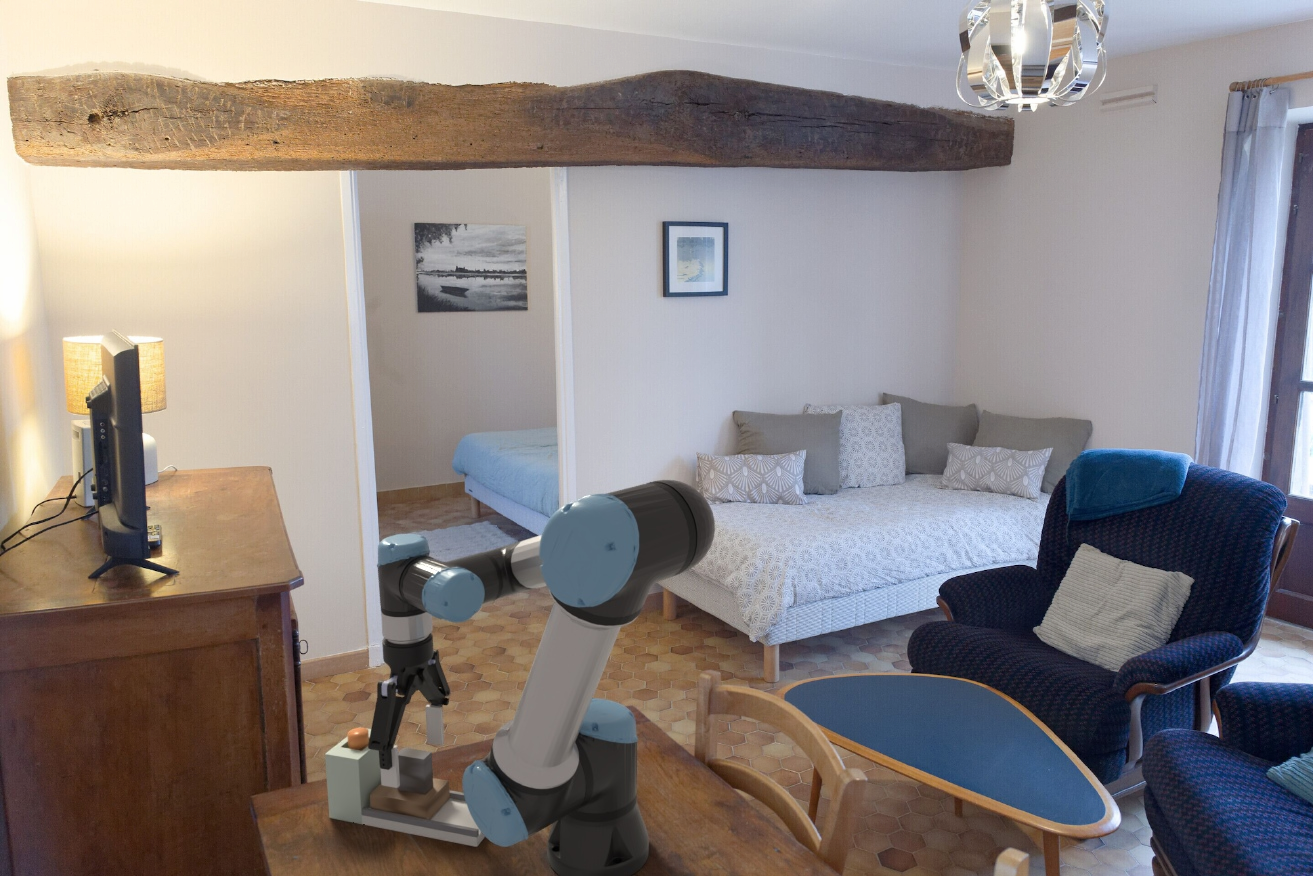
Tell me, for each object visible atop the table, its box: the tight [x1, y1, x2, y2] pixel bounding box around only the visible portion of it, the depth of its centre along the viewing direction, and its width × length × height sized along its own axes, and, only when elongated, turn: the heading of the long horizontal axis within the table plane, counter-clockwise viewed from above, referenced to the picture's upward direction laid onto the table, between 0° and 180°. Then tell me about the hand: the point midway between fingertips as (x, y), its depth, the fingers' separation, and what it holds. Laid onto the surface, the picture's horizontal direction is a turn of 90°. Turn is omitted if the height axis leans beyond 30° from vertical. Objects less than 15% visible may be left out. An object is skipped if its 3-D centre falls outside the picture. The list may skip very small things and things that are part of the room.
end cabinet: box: [324, 726, 389, 825], centre depth 149 cm, size 6×9×11 cm, turn 163°
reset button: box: [346, 727, 369, 751], centre depth 148 cm, size 3×3×2 cm
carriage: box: [370, 746, 451, 820], centre depth 146 cm, size 10×7×9 cm
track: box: [361, 789, 486, 848], centre depth 146 cm, size 20×9×2 cm, turn 73°
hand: (414, 763), depth 145 cm, fingers open, 12 cm apart
